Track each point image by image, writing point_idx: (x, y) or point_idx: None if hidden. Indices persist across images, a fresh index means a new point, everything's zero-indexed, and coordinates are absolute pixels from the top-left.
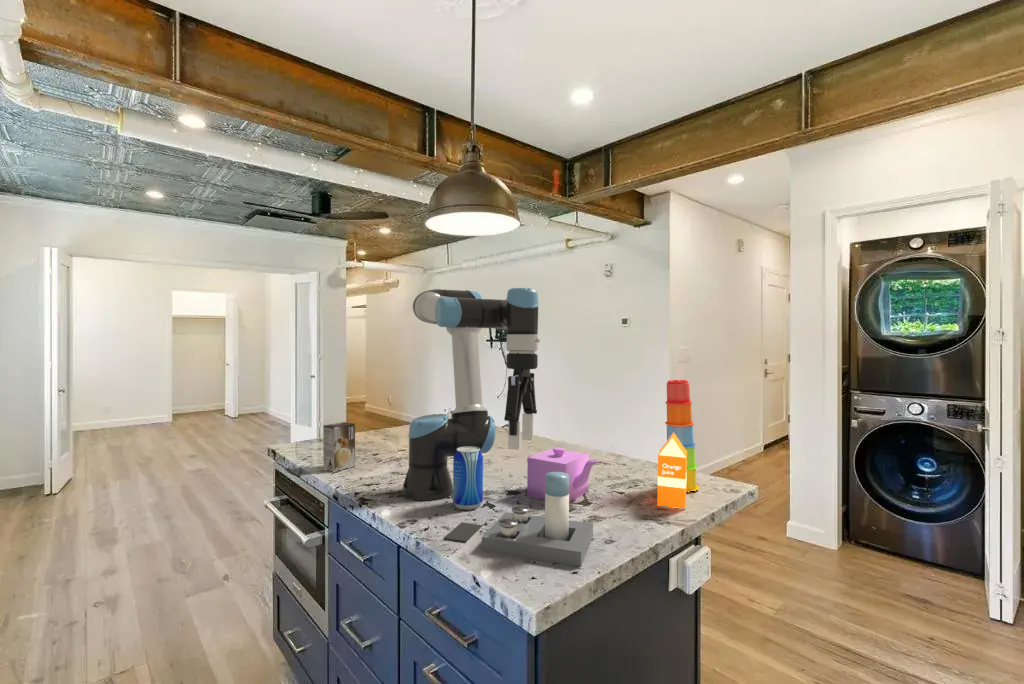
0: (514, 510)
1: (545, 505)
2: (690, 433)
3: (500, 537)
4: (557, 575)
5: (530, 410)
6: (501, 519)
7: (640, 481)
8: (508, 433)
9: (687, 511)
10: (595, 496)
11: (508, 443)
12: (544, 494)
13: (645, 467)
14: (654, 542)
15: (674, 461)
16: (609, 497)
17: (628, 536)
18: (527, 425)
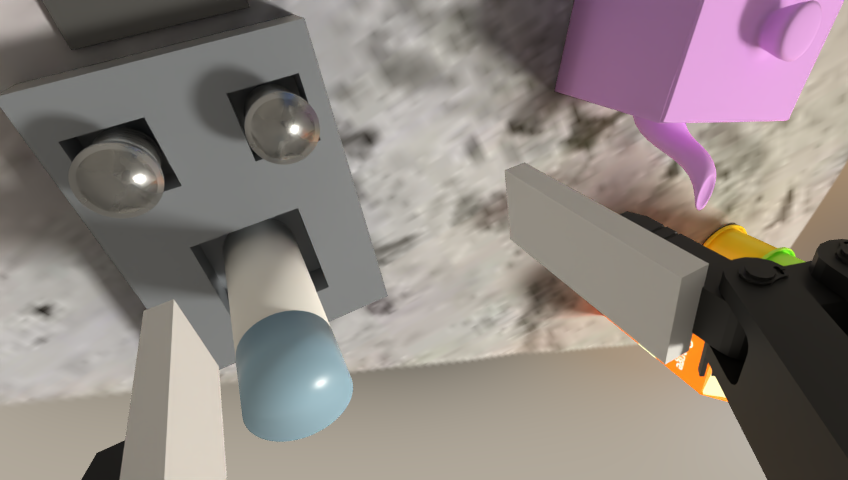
0: (245, 124)
1: (241, 303)
2: None
3: (68, 162)
4: (117, 337)
5: (728, 354)
6: (113, 142)
7: (750, 168)
8: (129, 419)
9: (597, 321)
10: (637, 130)
11: (140, 343)
12: (586, 6)
13: (844, 129)
14: (426, 360)
15: (695, 367)
16: (637, 164)
17: (428, 317)
18: (583, 262)
